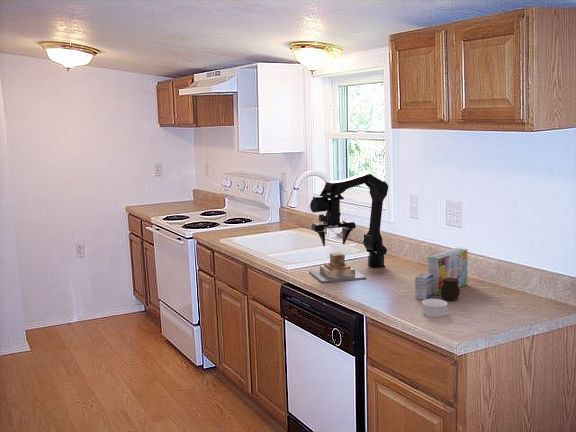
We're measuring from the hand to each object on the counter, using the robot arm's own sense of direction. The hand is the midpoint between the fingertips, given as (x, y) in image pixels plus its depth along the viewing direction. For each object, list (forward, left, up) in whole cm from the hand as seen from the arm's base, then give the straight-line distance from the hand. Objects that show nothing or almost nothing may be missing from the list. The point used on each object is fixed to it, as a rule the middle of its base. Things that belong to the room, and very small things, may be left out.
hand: (333, 245), depth 287 cm
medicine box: (-21, +46, -13) cm, 52 cm away
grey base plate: (0, +5, -13) cm, 14 cm away
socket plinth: (0, +5, -12) cm, 13 cm away
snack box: (-35, +39, -13) cm, 54 cm away
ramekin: (-15, +66, -13) cm, 69 cm away
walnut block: (0, +5, -9) cm, 10 cm away
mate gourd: (-29, +52, -13) cm, 61 cm away
